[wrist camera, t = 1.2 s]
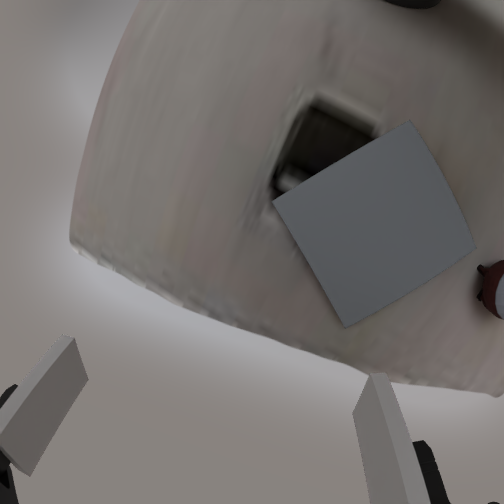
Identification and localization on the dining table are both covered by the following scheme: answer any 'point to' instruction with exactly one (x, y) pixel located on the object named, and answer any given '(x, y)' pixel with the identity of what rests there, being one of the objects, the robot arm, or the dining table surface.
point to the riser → (377, 223)
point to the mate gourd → (493, 288)
